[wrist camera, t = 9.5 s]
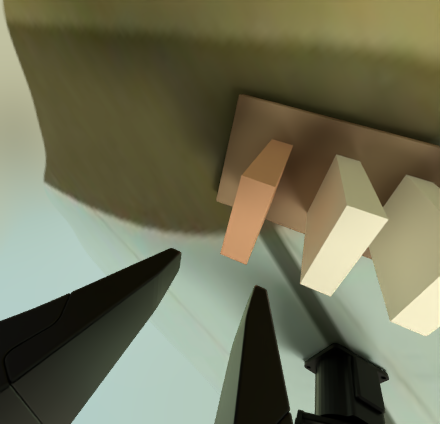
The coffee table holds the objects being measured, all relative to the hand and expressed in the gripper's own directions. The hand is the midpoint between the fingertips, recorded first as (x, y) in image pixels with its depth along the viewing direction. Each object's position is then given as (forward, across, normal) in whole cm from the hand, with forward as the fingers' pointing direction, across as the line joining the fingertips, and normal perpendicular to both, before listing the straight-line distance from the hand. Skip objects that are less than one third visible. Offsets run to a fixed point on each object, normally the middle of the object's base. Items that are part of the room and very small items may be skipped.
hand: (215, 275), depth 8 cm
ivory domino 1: (+12, -5, 0) cm, 13 cm away
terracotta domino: (+12, 0, 0) cm, 12 cm away
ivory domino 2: (+12, -9, 0) cm, 15 cm away
